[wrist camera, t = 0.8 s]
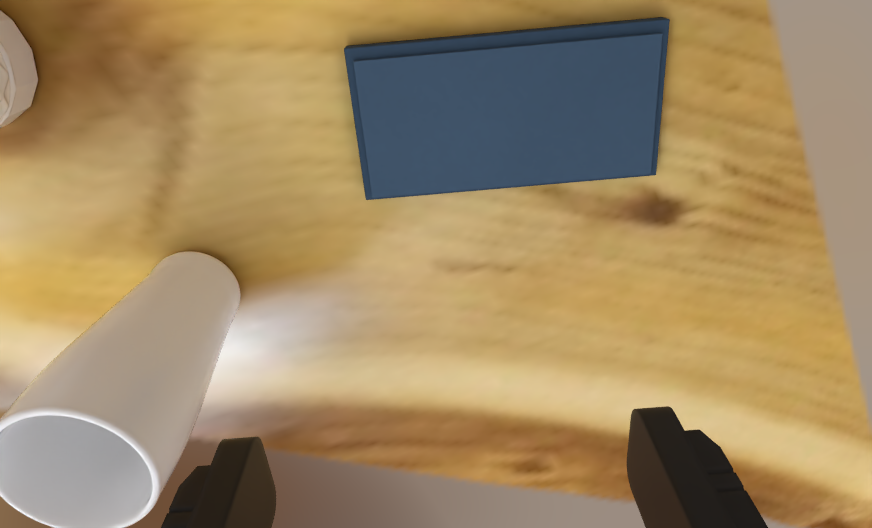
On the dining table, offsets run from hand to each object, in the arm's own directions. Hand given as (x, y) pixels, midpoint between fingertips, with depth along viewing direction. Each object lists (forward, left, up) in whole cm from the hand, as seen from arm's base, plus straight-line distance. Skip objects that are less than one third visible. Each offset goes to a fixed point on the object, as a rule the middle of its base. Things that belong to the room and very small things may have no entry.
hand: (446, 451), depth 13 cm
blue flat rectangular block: (-2, +4, -23) cm, 23 cm away
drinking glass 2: (+7, -15, -23) cm, 28 cm away
